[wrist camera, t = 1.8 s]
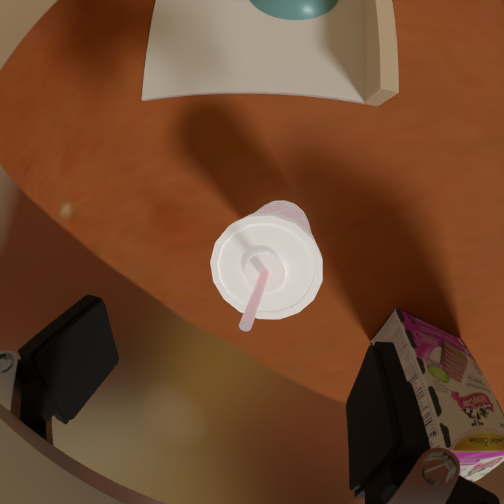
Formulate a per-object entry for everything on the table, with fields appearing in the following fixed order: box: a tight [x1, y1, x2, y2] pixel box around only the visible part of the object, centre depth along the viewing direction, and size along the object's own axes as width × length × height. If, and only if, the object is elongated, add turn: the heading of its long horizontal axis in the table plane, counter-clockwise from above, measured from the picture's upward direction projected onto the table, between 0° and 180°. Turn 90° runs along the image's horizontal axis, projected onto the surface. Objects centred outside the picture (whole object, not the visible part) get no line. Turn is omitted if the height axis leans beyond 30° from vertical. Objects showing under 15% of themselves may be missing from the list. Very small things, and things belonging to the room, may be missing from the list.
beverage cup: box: [210, 200, 322, 331], centre depth 17 cm, size 6×6×14 cm
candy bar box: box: [370, 308, 504, 481], centre depth 16 cm, size 11×5×16 cm, turn 68°
